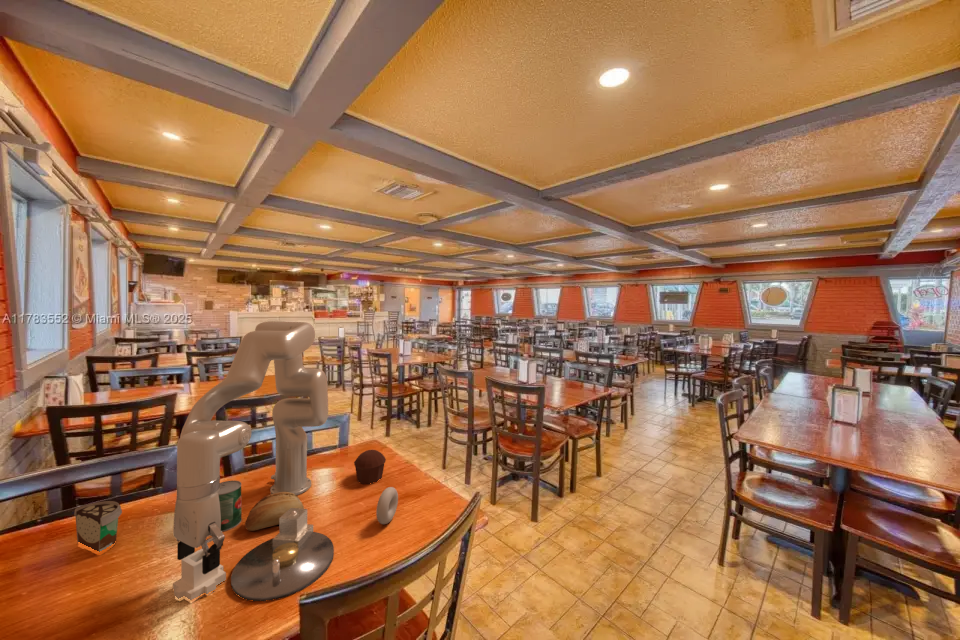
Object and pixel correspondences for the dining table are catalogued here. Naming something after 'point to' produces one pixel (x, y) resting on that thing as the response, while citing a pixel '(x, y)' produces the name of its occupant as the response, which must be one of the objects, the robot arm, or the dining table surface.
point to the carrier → (283, 561)
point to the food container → (97, 524)
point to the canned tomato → (230, 504)
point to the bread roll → (271, 510)
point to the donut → (387, 505)
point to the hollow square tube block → (197, 577)
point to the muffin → (369, 466)
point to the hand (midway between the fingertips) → (198, 562)
